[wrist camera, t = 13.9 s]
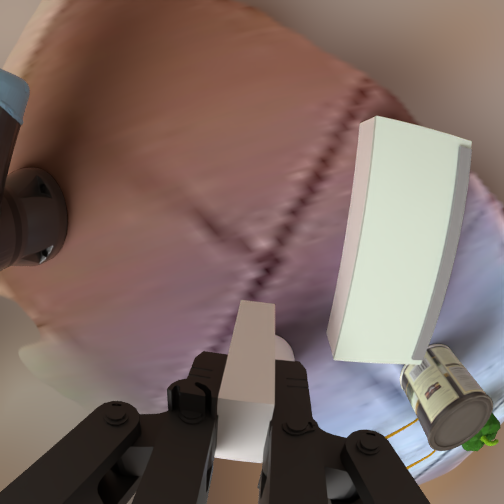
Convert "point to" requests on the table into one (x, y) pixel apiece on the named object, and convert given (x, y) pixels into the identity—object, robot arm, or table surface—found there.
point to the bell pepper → (484, 435)
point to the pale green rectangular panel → (404, 243)
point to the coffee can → (445, 398)
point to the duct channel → (351, 230)
